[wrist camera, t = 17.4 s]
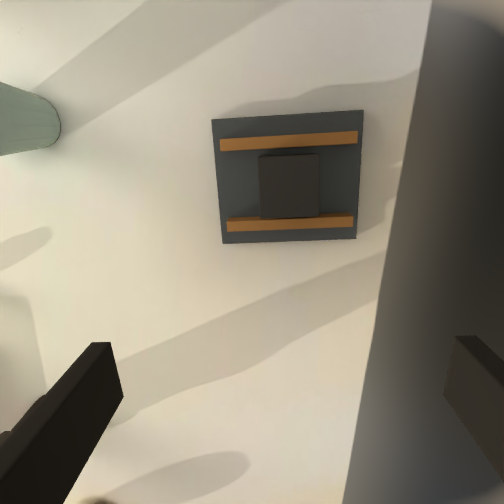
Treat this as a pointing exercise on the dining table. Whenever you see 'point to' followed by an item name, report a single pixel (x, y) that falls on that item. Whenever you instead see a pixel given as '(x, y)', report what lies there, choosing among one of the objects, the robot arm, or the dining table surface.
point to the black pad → (289, 185)
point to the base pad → (285, 143)
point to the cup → (25, 121)
